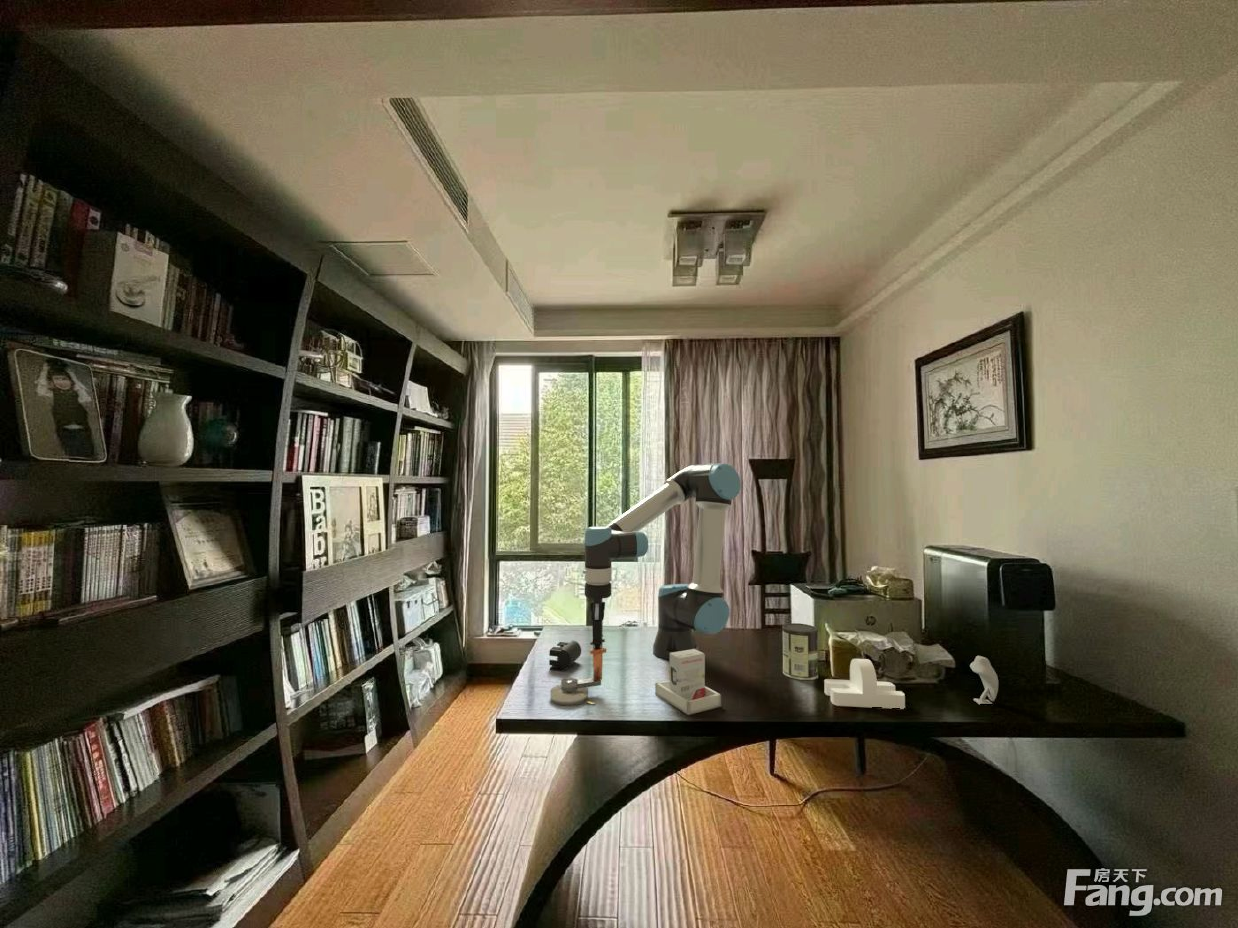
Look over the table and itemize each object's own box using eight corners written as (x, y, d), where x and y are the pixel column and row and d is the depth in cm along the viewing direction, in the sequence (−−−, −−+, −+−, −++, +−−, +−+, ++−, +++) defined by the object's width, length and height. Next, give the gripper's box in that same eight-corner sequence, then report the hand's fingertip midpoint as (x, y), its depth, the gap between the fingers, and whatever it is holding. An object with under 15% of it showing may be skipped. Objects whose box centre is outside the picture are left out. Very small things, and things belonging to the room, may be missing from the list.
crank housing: (578, 688, 143) (578, 680, 144) (598, 704, 133) (598, 696, 133) (544, 694, 139) (544, 687, 139) (562, 712, 128) (562, 704, 128)
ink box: (694, 691, 140) (694, 647, 141) (706, 698, 136) (706, 653, 136) (667, 697, 136) (668, 652, 137) (678, 704, 132) (678, 657, 132)
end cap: (570, 673, 155) (570, 650, 156) (548, 670, 157) (548, 648, 158) (581, 662, 165) (581, 640, 165) (560, 660, 167) (561, 638, 167)
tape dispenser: (906, 710, 132) (905, 667, 132) (834, 706, 134) (833, 664, 134) (890, 695, 141) (890, 655, 142) (823, 691, 143) (822, 652, 144)
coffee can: (809, 667, 161) (808, 622, 162) (824, 680, 151) (824, 631, 152) (777, 668, 161) (777, 622, 161) (790, 680, 151) (790, 632, 151)
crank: (563, 692, 134) (564, 655, 134) (559, 686, 138) (559, 650, 138) (608, 686, 139) (608, 650, 139) (602, 680, 143) (602, 645, 143)
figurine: (1004, 709, 132) (1003, 662, 133) (981, 707, 133) (980, 660, 134) (988, 697, 140) (987, 652, 140) (966, 696, 140) (965, 651, 141)
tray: (686, 686, 145) (686, 676, 145) (721, 706, 132) (721, 694, 133) (655, 694, 140) (655, 682, 140) (688, 714, 127) (688, 702, 127)
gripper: (586, 577, 150) (585, 658, 150) (582, 586, 138) (582, 675, 137) (611, 577, 150) (611, 658, 150) (610, 587, 138) (610, 675, 137)
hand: (597, 666), depth 143 cm, fingers closed
